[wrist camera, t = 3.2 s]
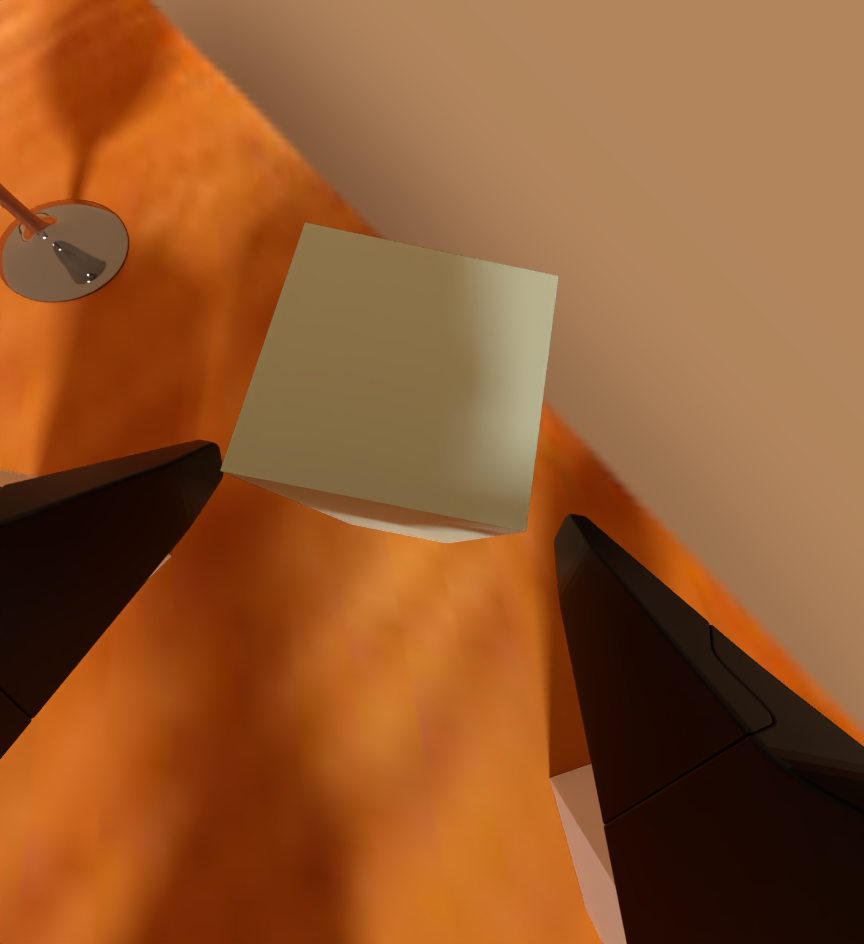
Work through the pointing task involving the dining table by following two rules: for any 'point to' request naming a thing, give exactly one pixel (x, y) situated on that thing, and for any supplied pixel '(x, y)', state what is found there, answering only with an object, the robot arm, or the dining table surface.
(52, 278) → the wine glass
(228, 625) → the dining table surface
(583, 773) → the pale pink tall block
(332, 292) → the sage block
